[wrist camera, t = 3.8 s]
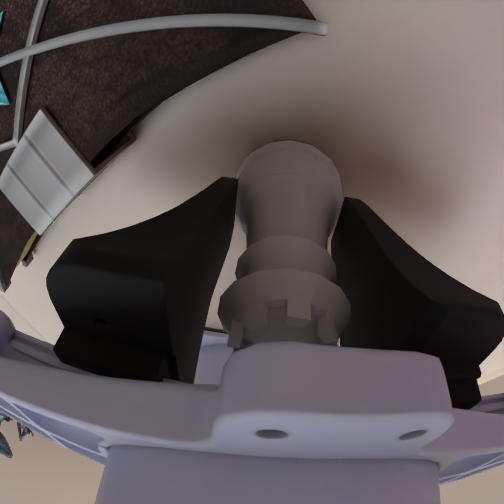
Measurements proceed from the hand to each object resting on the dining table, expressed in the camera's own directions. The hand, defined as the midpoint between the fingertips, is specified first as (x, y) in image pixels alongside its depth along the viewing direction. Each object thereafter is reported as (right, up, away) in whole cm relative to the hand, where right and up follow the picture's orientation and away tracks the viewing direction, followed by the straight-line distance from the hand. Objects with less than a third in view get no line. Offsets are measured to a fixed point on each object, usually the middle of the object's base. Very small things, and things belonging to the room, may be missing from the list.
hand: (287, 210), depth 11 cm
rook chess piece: (0, +1, +2) cm, 2 cm away
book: (-12, +8, -2) cm, 15 cm away
